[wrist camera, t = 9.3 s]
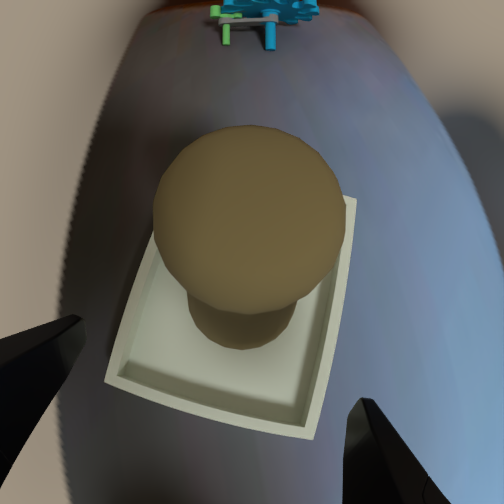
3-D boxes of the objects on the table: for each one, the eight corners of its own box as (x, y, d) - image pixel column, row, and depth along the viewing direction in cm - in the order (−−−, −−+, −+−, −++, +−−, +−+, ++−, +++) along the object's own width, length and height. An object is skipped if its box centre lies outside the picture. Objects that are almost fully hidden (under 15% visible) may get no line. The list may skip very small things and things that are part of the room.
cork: (166, 282, 17) (85, 162, 7) (253, 225, 19) (273, 71, 8) (229, 372, 16) (218, 382, 5) (317, 306, 17) (424, 214, 7)
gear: (315, 16, 28) (323, -16, 19) (316, 60, 30) (326, 39, 21) (221, 17, 29) (199, -13, 20) (221, 60, 31) (197, 41, 22)
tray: (305, 433, 15) (312, 439, 13) (116, 381, 15) (103, 381, 14) (347, 212, 20) (356, 199, 18) (188, 173, 20) (184, 157, 19)
